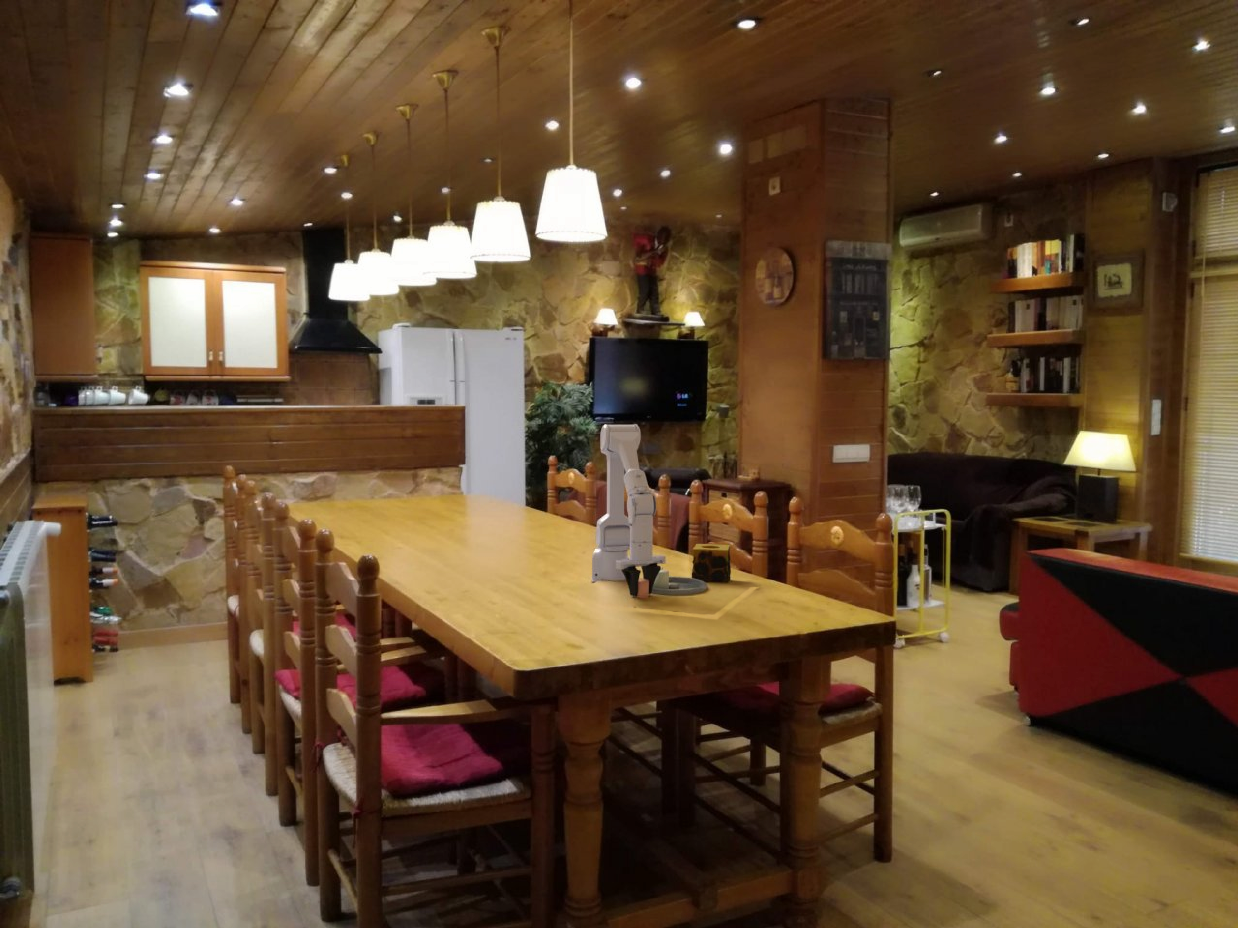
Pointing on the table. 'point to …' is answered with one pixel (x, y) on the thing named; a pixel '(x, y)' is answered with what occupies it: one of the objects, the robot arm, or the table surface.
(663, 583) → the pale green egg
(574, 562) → the table surface
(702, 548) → the yellow black patterned cube
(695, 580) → the groove tray
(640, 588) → the bead
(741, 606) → the table surface
